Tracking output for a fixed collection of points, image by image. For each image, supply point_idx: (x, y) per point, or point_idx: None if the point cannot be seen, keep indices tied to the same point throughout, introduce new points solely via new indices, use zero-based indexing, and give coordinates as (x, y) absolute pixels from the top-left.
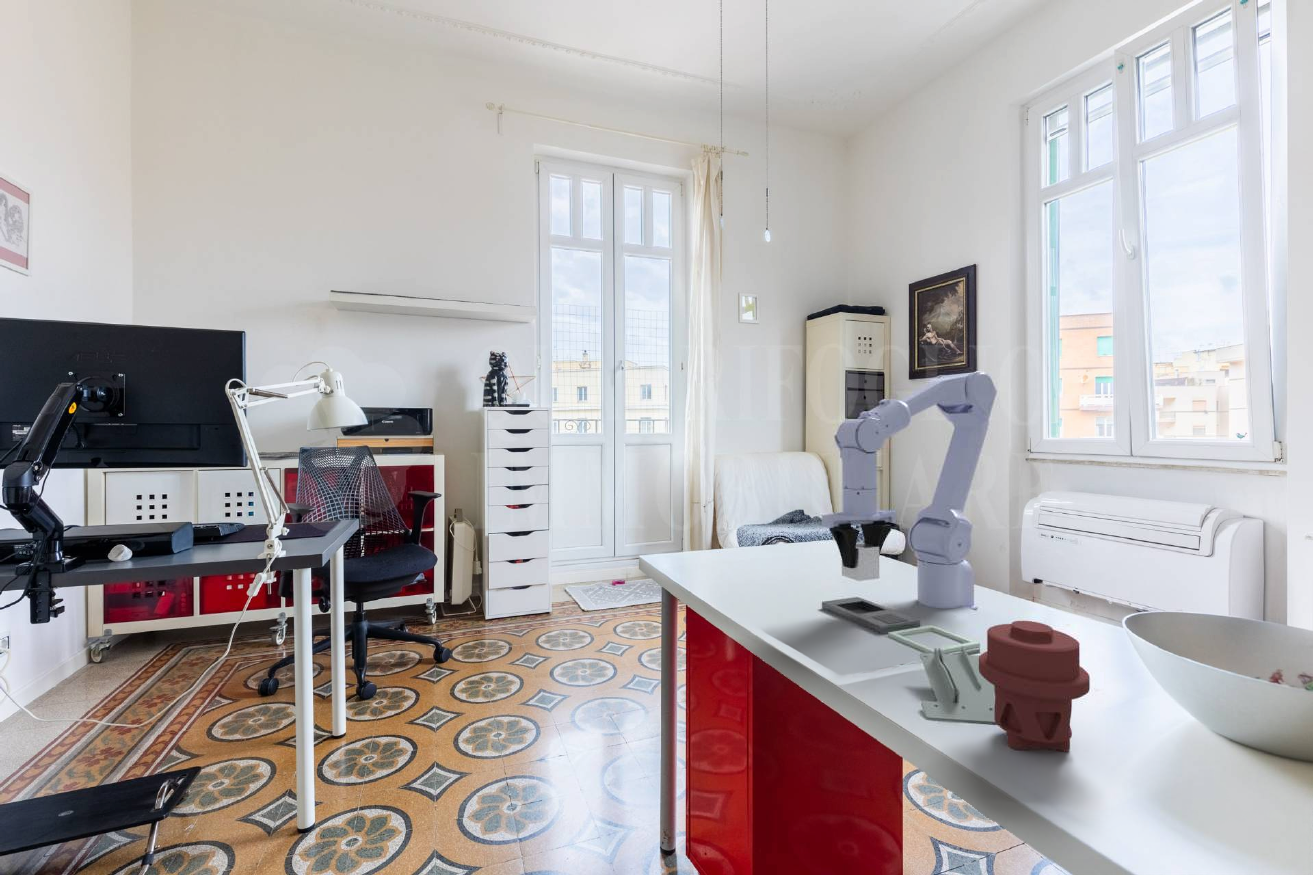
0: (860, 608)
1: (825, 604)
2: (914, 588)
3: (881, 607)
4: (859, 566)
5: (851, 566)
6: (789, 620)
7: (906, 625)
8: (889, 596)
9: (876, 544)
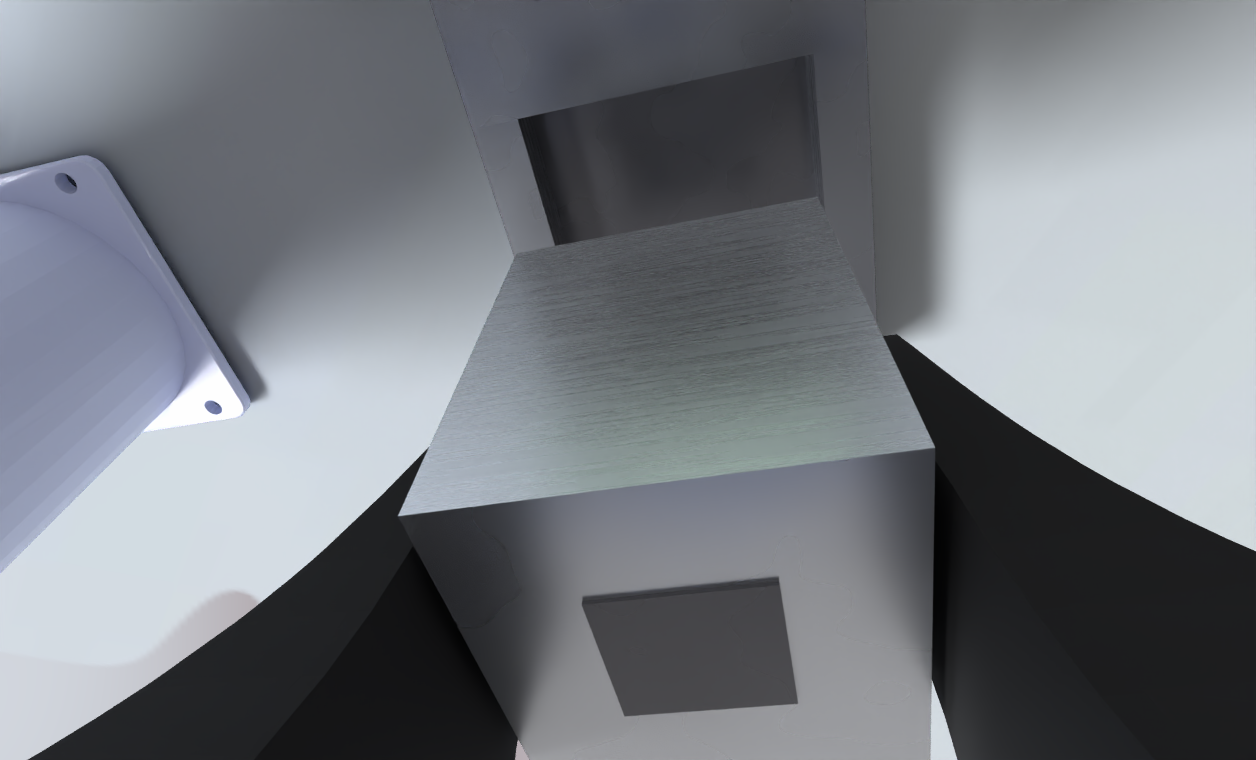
0: None
1: None
2: (132, 608)
3: (526, 190)
4: (838, 274)
5: (904, 343)
6: (1156, 284)
7: None
8: (307, 535)
9: (409, 602)
